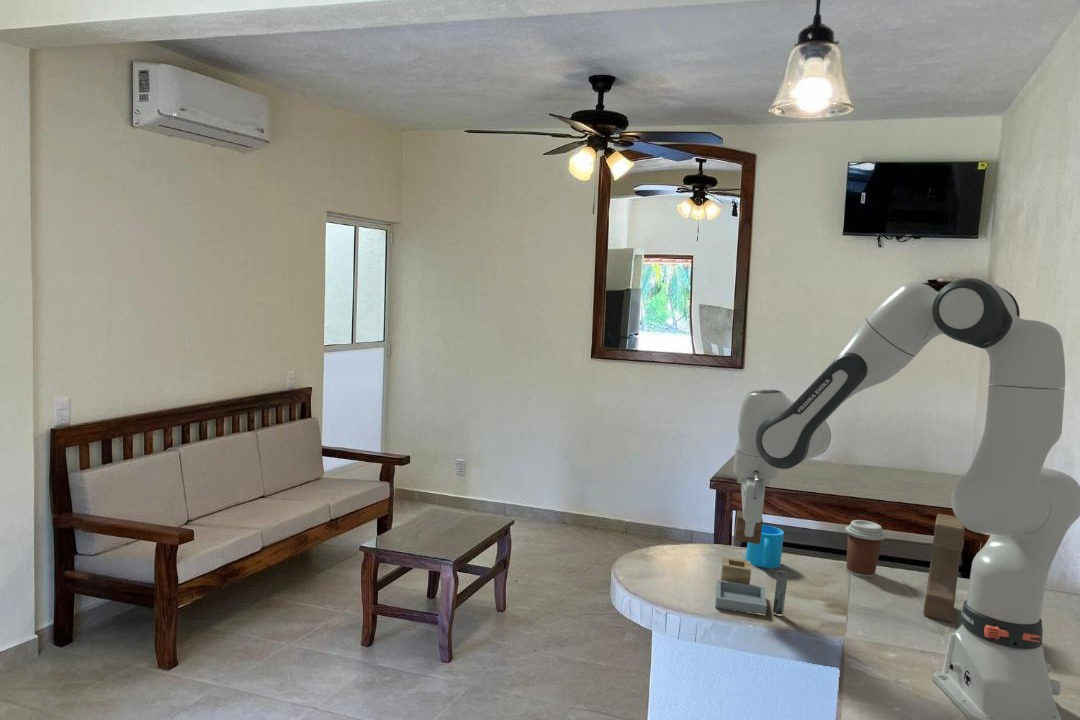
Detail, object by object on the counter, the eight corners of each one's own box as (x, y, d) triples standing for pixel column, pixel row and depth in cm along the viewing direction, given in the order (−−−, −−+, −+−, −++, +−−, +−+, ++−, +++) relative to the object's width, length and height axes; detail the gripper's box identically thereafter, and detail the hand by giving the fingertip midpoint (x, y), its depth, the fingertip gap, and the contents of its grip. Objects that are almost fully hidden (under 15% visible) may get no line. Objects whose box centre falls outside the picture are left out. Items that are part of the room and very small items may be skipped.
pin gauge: (783, 617, 167) (788, 574, 166) (773, 615, 167) (777, 573, 166) (782, 613, 169) (787, 571, 168) (772, 612, 169) (777, 569, 168)
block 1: (759, 544, 169) (762, 520, 168) (734, 540, 170) (737, 516, 169) (759, 537, 174) (761, 514, 173) (734, 533, 175) (737, 510, 174)
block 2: (748, 592, 179) (751, 569, 179) (720, 587, 181) (723, 565, 180) (747, 582, 185) (750, 561, 185) (720, 578, 186) (723, 557, 186)
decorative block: (951, 623, 171) (964, 529, 169) (921, 616, 174) (934, 524, 172) (954, 606, 181) (966, 518, 179) (925, 600, 183) (937, 512, 181)
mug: (745, 554, 205) (748, 522, 204) (779, 559, 203) (782, 527, 203) (746, 570, 193) (749, 536, 193) (782, 575, 192) (786, 541, 191)
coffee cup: (851, 563, 205) (857, 516, 204) (887, 575, 198) (893, 526, 197) (833, 570, 199) (839, 521, 197) (870, 582, 192) (876, 532, 191)
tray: (765, 616, 167) (766, 605, 166) (715, 608, 169) (716, 597, 168) (763, 596, 177) (764, 586, 177) (715, 589, 179) (716, 579, 179)
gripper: (774, 479, 159) (765, 548, 161) (769, 458, 179) (761, 520, 181) (740, 475, 161) (733, 543, 162) (739, 454, 181) (732, 516, 182)
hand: (748, 531), depth 172 cm, fingers closed on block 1, 5 cm apart
